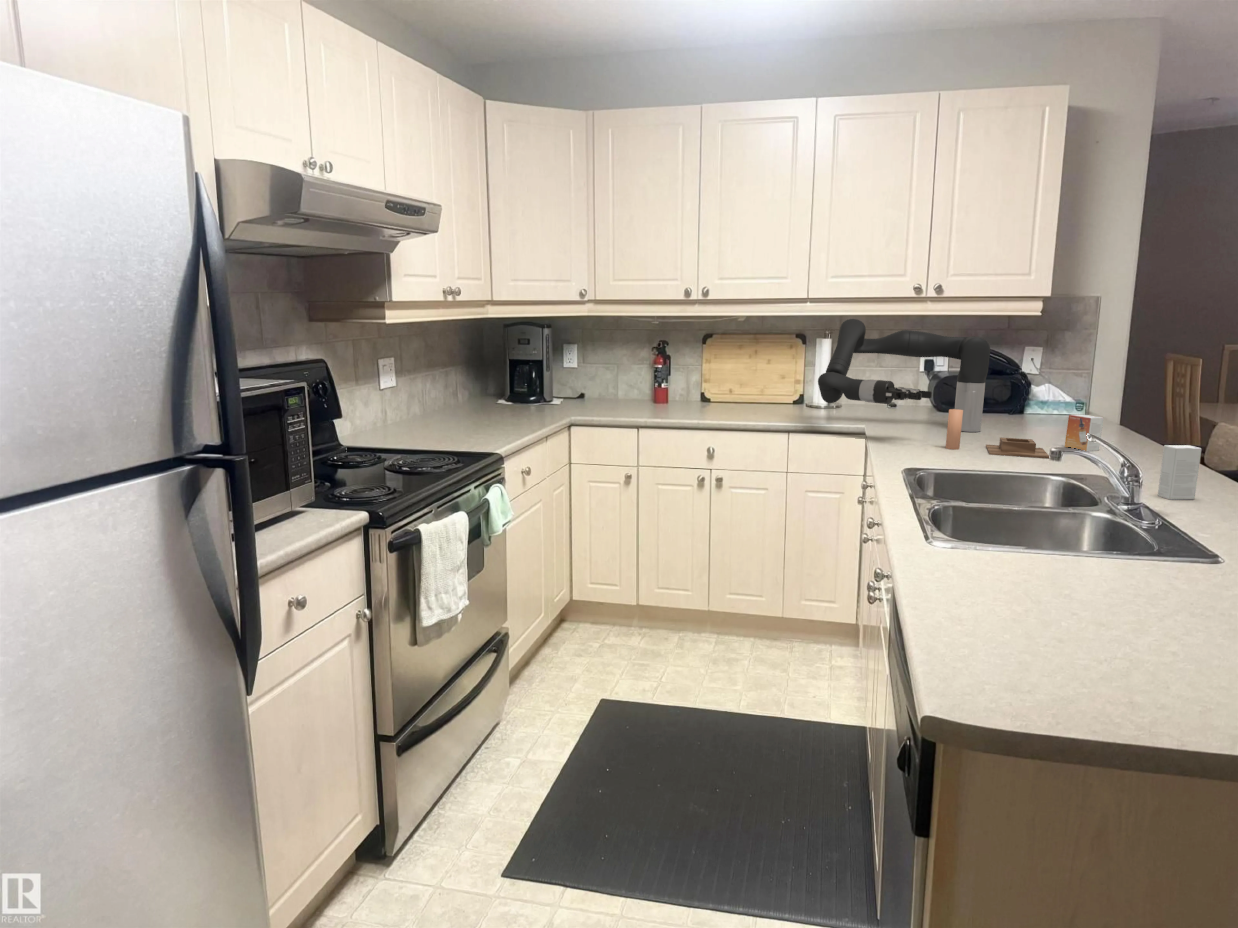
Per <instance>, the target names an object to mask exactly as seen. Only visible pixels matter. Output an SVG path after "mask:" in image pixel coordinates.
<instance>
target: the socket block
mask: <svg viewBox="0 0 1238 928" xmlns="http://www.w3.org/2000/svg"><path fill="white" fill-rule="evenodd" d="M985 448H986V450H987V453H988V455H990V456H991V455H992V456H993V455H994V456H1004V455H1005V456H1009V457H1019V456H1020V458H1021V457H1022V458H1036V459H1049V456H1050V455H1049V454H1048V452H1047V451H1046V450H1045V449H1044V448H1043V447H1037V443H1036V442H1035V440H1034V439H1031V438H1030V439H1029V438H1016V437H1015V438H1014V437H999V444H998V445H997V444H985ZM1049 460H1050V459H1049Z"/></svg>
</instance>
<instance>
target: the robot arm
mask: <svg viewBox="0 0 1238 928" xmlns="http://www.w3.org/2000/svg"><path fill="white" fill-rule="evenodd" d="M866 330H867V329H866V325H865V323H864V322H863V321H861V320H860V319H857V318H849V319H846V320H844V321H843V322H842V323H841V325H840V327H839V330H838V334H837V335H838V336H837V341H836V343H837V344H836V347H835V349H834V352H833V353H832V355H831V358H830V360H829V362H828V365H827V368H826V370H825V372H824V373H822V374H821V375H819V377H818V379H817V385H818V389H819V393H820V396H821V400H823V401H824V402H825V403H827V404H834V403H837V402H838V401H840V399H841V398H842V397H843V395H844V397H845V398H846V399H847V400H850V401H858V402H859V401H860V402H864V403H870V404H871V403H872V404H882V405H883V404H884V405H890V404H891V403H892V402H893V401H908V400H913V401H921V400H922V399H931V398H932V396H933V392H932V391H930V390H929V391H928V390H921V389H919V388H917V389H915V388H911V387H904V386H898V387H897V386H896V387H895V383H894V382H893V381H891V380H884V379H883V380H881V379H861V378H860V379H859V378H852V377H849V376H847V375H848V373H849V370H850V367H851V363H852V360H853V356H854V355H853V354H881V355H882V354H883V355H886V354H887V355H895V356H901V357H910V358H942V357H943V358H950V359H955V360H960V364H959V365H960V366H959V371H958V374H957V379H956V381H957V382H956V390H955V401H954V409H959V410H963V417H962V427H961V432H968V433H978V432H981V430H982V420H983V410H984V403H985V402H984V399H985V389H986V380H987V376H988V372H989V367H990V366H989V365H990V357H991V346H990V343H989V342H988V340H986V339H985V338H983V337H980V336H946V335H941V334H935V333H933V332H932V333H931V332H926V331H922V330H920V331H919V330H908V329H903V330H897V331H894V332H893V333H890V334H888V335H885V336H882V337H878V338H865V336H866Z"/></svg>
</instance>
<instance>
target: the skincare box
mask: <svg viewBox="0 0 1238 928" xmlns="http://www.w3.org/2000/svg"><path fill="white" fill-rule="evenodd" d="M1201 455H1202V448H1201V447H1197V446H1195V445H1190V444H1186V445H1185V444H1183V445H1182V444H1181V445H1180V444H1178V445H1177V444H1175V445H1174V444H1173V445H1169V444H1164V446H1163V449H1162V458H1161V467H1160V474H1159V484H1158V489H1157V496H1158V497H1161V498H1164V499H1167V500H1169V501H1170V500H1195V498H1196V491H1197V483H1198V478H1199V477H1198V476H1199V469H1200V463H1201Z"/></svg>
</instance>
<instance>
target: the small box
mask: <svg viewBox="0 0 1238 928" xmlns="http://www.w3.org/2000/svg"><path fill="white" fill-rule="evenodd" d="M1067 418H1068V419H1067V425H1066V435H1065V441H1064V448H1068V447H1071V448H1070V449H1073V448H1077V449H1081V450H1080V451H1082V450H1085V451H1084V452H1099V451H1100V447H1101V443H1100V444H1098V443H1094V442H1091V441H1089V440H1088V439H1087V436H1086V435H1087V433H1091V434H1094V435H1096V436H1097V437H1099V438H1102V431H1103V426H1104V424H1103V423H1104V417H1102V416H1093V415H1088V414H1081V413H1080V414H1079V413H1078V414H1077V413H1076V414H1069V415H1068V417H1067ZM1077 449H1076V450H1077Z"/></svg>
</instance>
